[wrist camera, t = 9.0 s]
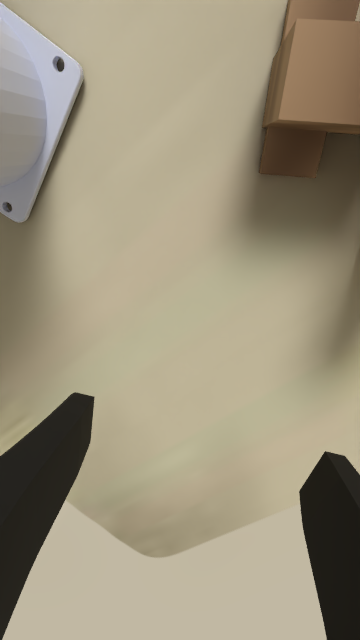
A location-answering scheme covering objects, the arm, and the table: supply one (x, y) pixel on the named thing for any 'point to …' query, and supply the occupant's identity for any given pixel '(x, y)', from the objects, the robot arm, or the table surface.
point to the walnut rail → (312, 85)
